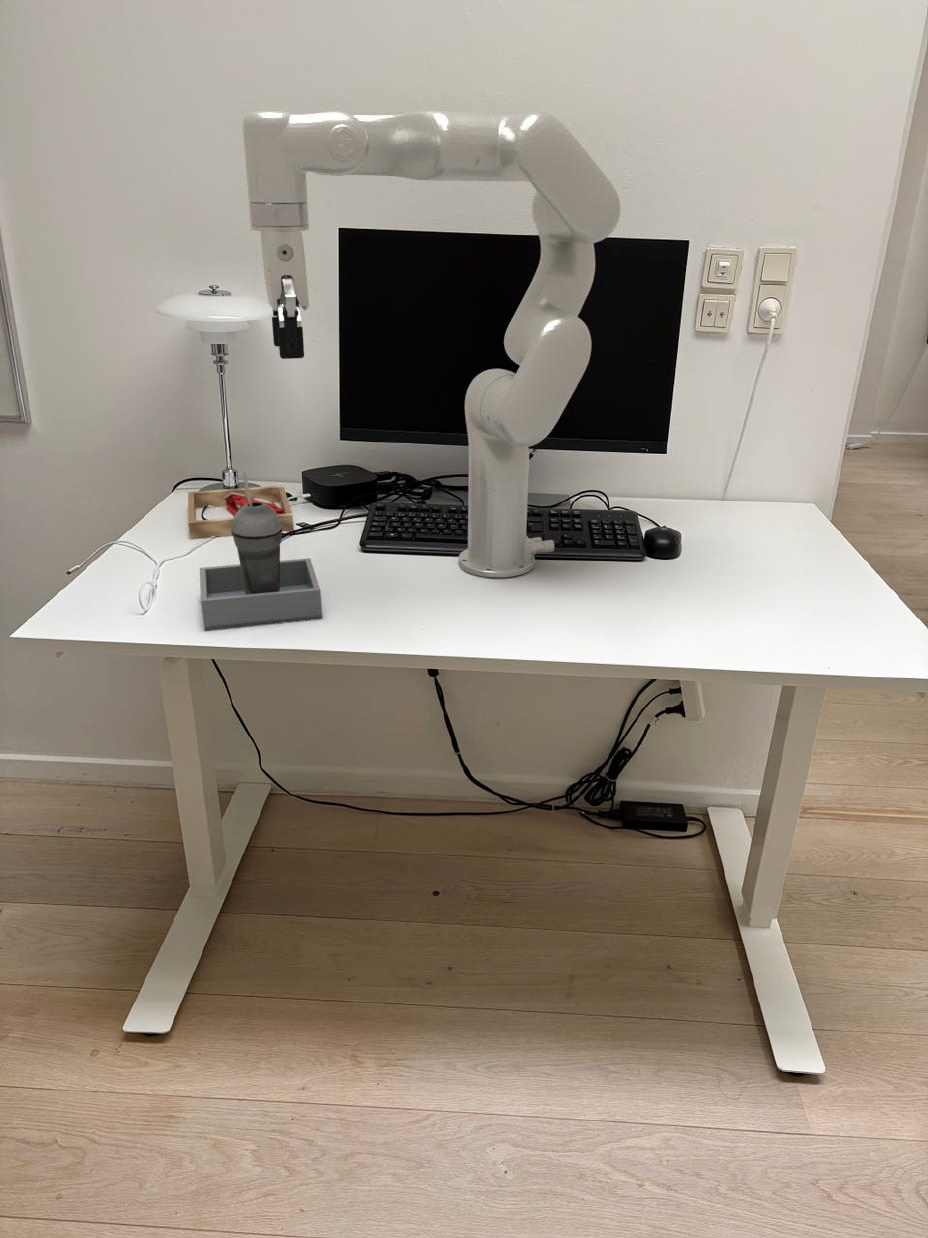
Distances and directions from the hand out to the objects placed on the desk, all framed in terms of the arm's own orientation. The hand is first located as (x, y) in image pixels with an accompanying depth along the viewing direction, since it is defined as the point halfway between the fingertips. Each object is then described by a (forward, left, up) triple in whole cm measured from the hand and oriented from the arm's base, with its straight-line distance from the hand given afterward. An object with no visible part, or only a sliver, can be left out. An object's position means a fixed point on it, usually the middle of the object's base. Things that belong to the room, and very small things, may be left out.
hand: (288, 351), depth 133 cm
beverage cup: (+7, +4, -36) cm, 37 cm away
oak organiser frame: (+8, -37, -36) cm, 52 cm away
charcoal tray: (+7, +4, -36) cm, 37 cm away
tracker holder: (+5, -39, -37) cm, 54 cm away
